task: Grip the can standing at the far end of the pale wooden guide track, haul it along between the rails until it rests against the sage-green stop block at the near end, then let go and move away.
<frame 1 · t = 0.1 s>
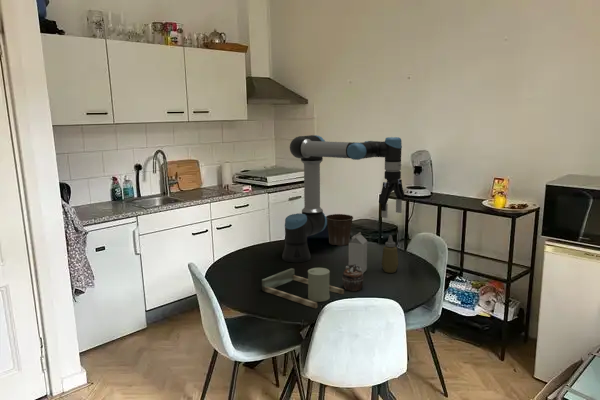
hand: (391, 215, 215), 28 cm above the table, tool pointing down, fingers open, 13 cm apart
cupcake: (352, 288, 200), on the table
guide track: (302, 292, 195), on the table
squeeze bottle: (389, 271, 220), on the table
plant pot: (339, 243, 269), on the table
milk carton: (357, 271, 220), on the table
can: (318, 297, 189), on the table
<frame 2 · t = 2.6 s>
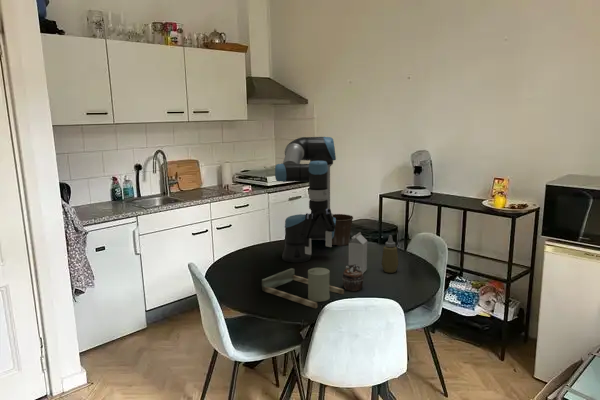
hand: (318, 250, 185), 21 cm above the table, tool pointing down, fingers open, 13 cm apart
nothing on the table moved.
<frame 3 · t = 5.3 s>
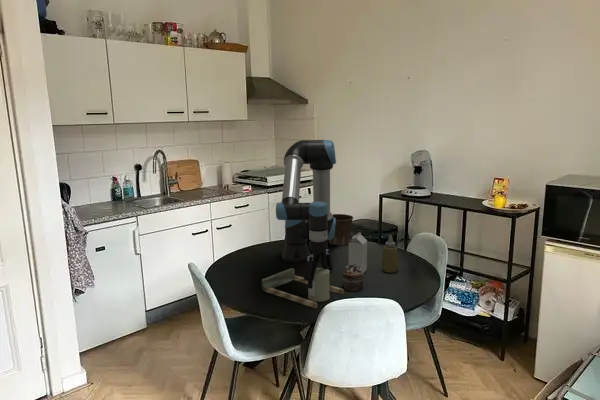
hand: (318, 291, 189), 2 cm above the table, tool pointing down, fingers closed on can, 9 cm apart
can: (318, 297, 189), on the table, touching gripper
everything else where it was.
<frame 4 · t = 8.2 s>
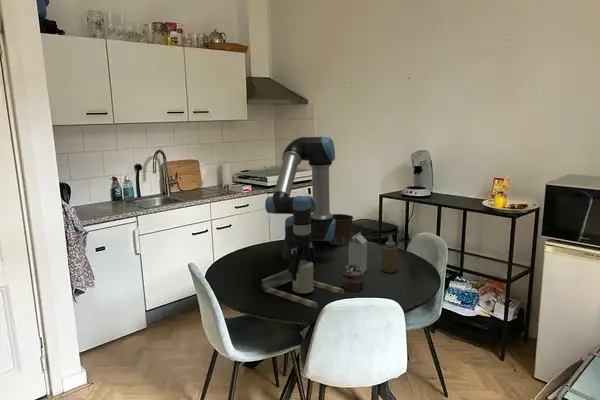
hand: (302, 283, 194), 4 cm above the table, tool pointing down, fingers closed on can, 9 cm apart
can: (303, 289, 195), point 1 cm above the table, touching gripper
everything else where it was.
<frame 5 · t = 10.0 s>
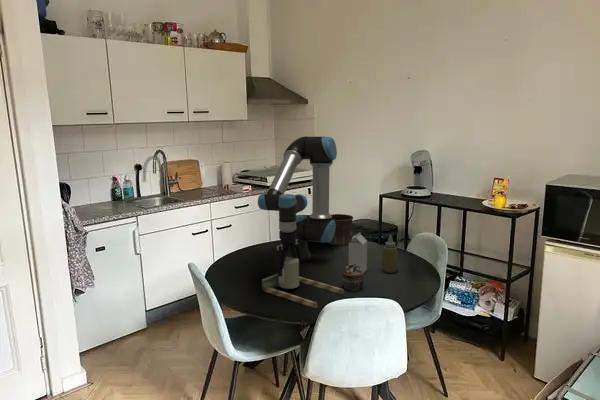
hand: (288, 279, 200), 4 cm above the table, tool pointing down, fingers closed on can, 9 cm apart
can: (289, 285, 200), point 1 cm above the table, touching gripper
everything else where it was.
when the fingers open (4 cm above the table, at t = 11.3 s): can drops 1 cm, on the table.
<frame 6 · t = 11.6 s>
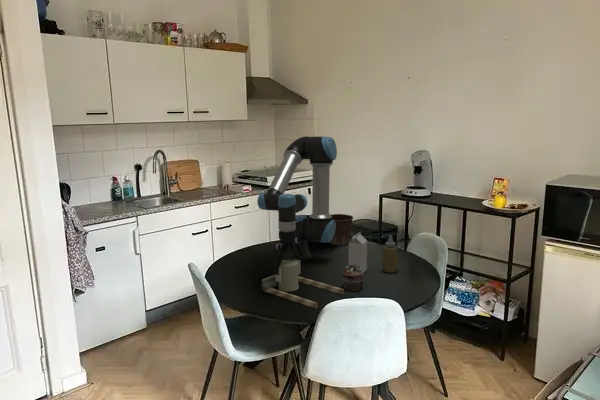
hand: (288, 277, 199), 5 cm above the table, tool pointing down, fingers open, 12 cm apart
can: (288, 288, 200), on the table
everything else where it was.
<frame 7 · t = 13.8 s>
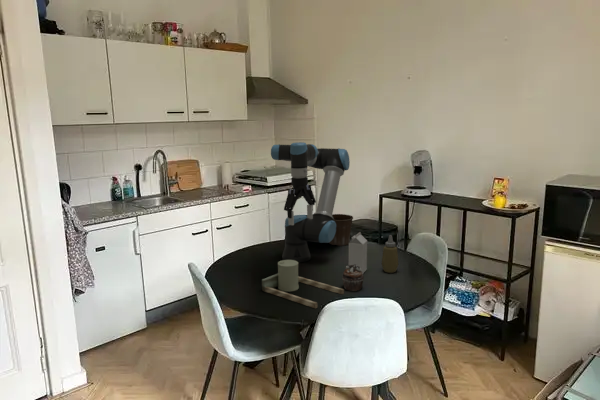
hand: (300, 221, 211), 26 cm above the table, tool pointing down, fingers open, 13 cm apart
nothing on the table moved.
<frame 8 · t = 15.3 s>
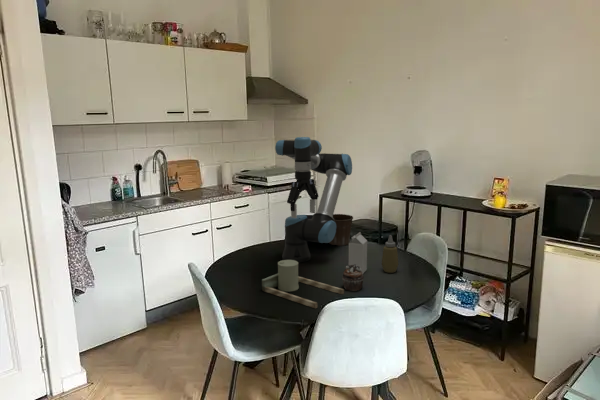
hand: (303, 215, 214), 29 cm above the table, tool pointing down, fingers open, 13 cm apart
nothing on the table moved.
at the end: can inside the target area on the guide track (0.1 cm from its centre), point 0.0 cm above the guide track's base; can tilted 0°; the gripper is holding nothing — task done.
